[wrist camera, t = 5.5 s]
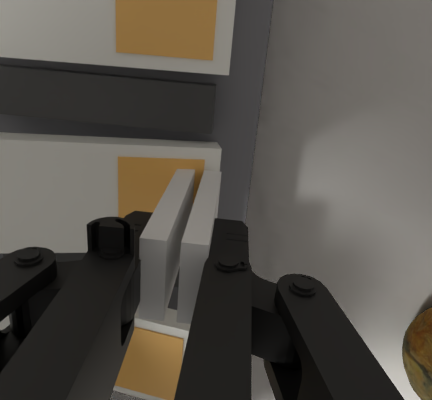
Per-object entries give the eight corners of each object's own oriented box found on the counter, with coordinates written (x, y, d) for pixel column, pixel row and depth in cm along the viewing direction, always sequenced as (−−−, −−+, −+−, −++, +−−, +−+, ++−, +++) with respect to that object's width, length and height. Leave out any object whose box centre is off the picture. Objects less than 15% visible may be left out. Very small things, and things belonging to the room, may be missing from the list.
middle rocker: (208, 239, 19) (212, 252, 18) (-33, 240, 17) (-47, 254, 16) (216, 142, 17) (222, 149, 16) (-53, 130, 15) (-70, 137, 14)
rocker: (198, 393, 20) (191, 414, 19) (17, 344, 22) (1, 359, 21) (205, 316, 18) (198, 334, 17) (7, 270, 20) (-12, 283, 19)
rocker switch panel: (224, 355, 26) (223, 406, 22) (23, 334, 26) (-12, 381, 22) (281, -111, 16) (295, -158, 13) (-39, -139, 16) (-119, -193, 13)
